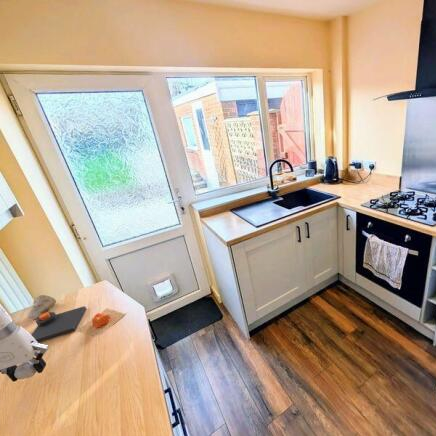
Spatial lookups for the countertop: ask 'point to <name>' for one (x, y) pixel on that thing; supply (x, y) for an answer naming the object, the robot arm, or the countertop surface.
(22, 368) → the garlic
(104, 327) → the shallow wooden dish
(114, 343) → the countertop surface
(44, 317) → the tare button
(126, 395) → the countertop surface
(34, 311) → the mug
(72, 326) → the scale
